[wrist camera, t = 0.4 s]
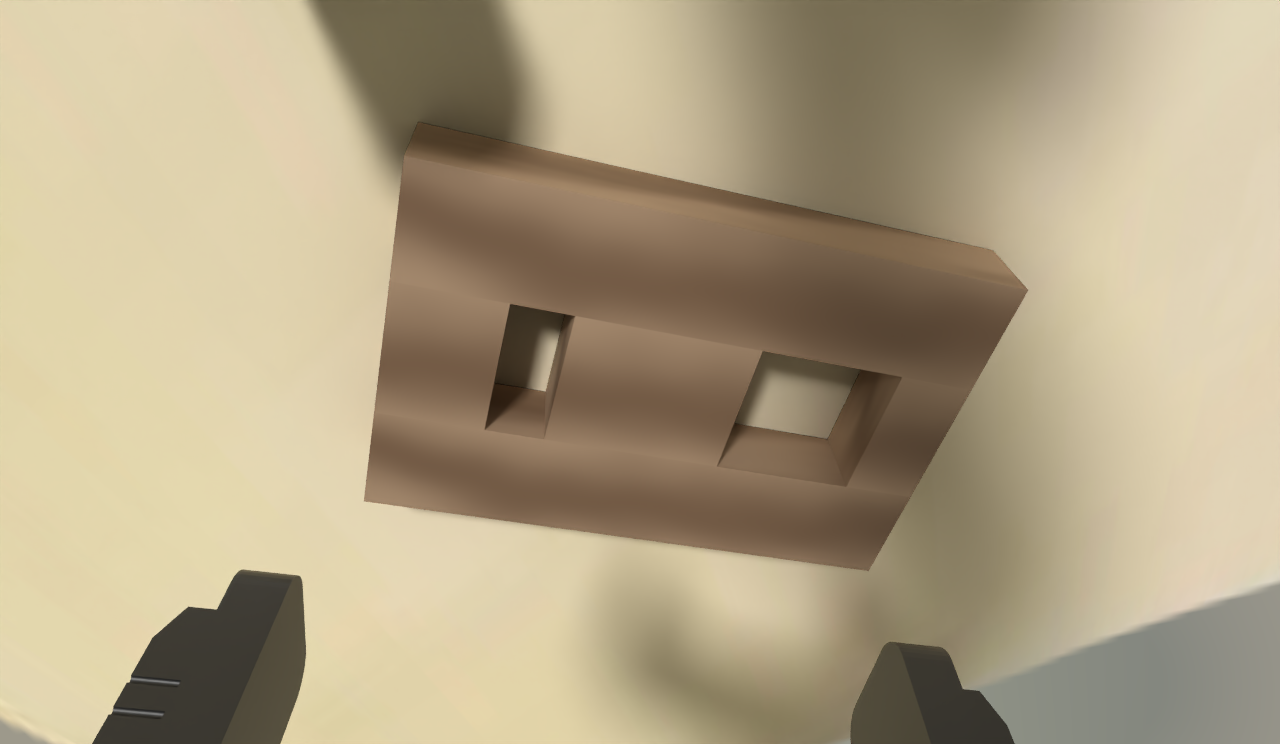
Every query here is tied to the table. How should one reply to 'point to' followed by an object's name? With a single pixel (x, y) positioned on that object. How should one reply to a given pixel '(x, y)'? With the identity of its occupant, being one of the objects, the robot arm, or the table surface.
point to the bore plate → (664, 354)
